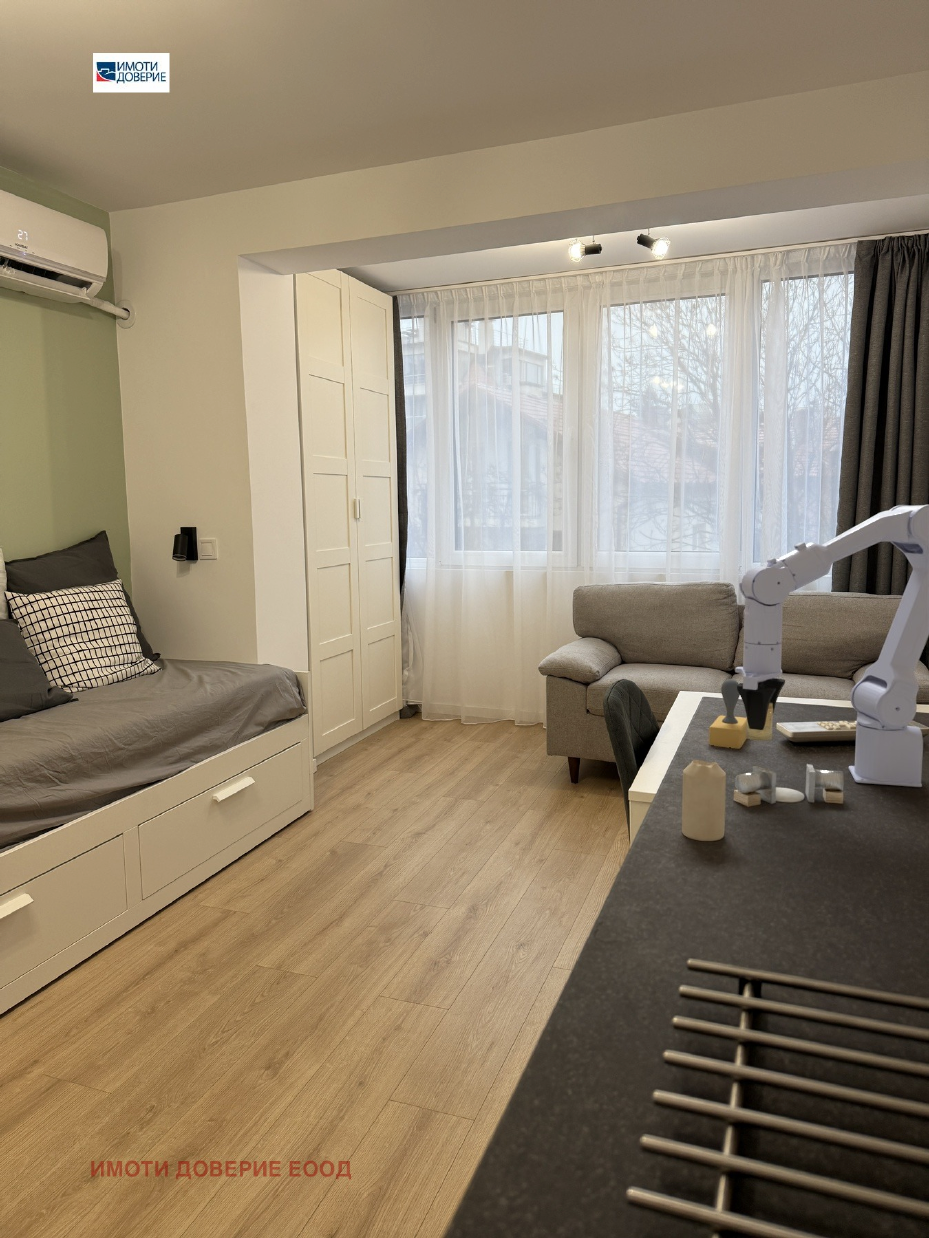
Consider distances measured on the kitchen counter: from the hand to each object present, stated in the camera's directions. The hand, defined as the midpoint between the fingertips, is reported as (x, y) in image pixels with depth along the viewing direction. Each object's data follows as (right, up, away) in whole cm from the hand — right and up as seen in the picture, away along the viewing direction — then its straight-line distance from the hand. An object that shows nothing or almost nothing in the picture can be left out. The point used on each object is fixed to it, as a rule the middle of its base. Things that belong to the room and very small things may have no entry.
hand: (760, 725), depth 133 cm
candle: (-15, -12, -22) cm, 29 cm away
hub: (0, -2, 0) cm, 2 cm away
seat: (+1, -10, -7) cm, 12 cm away
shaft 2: (+7, -10, -8) cm, 15 cm away
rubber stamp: (+3, -6, +25) cm, 26 cm away
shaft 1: (-4, -10, -9) cm, 14 cm away
